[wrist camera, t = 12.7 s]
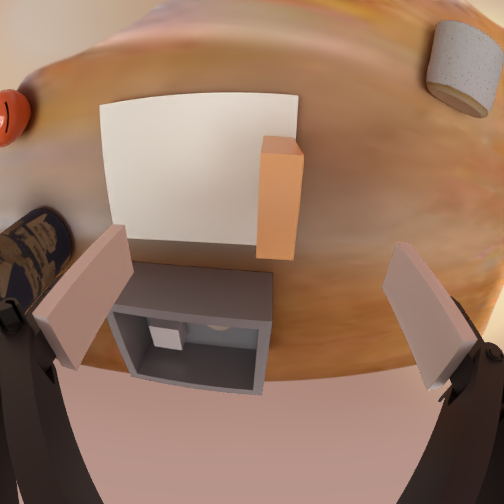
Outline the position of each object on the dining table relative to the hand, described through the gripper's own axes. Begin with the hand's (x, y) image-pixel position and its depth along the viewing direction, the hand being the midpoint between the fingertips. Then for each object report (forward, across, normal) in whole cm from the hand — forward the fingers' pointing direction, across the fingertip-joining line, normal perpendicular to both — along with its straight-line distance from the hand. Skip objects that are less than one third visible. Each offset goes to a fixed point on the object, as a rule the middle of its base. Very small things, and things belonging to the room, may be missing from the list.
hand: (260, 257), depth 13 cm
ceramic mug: (+16, +20, +14) cm, 29 cm away
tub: (+16, -7, -19) cm, 26 cm away
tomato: (+17, -31, +9) cm, 36 cm away
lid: (+16, -7, 0) cm, 18 cm away
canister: (+17, -29, -9) cm, 35 cm away
